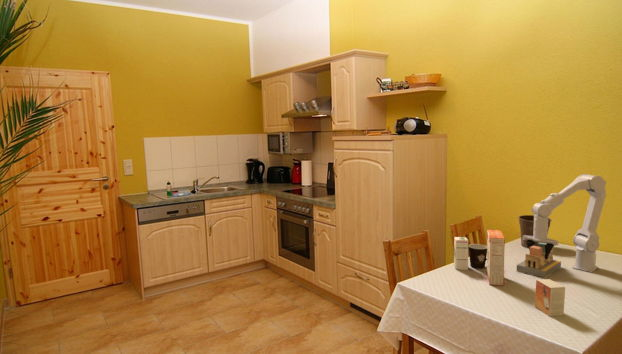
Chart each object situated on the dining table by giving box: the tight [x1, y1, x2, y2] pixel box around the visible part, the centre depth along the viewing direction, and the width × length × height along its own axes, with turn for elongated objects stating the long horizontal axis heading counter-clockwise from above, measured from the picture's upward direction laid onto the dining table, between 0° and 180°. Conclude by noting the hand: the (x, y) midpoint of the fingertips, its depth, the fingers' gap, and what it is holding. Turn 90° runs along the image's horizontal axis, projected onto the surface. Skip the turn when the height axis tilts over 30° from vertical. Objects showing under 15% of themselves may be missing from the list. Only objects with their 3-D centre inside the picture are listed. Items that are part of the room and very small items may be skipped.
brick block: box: [528, 246, 543, 257], centre depth 182 cm, size 4×4×4 cm
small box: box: [534, 278, 566, 317], centre depth 143 cm, size 8×6×10 cm
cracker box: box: [486, 229, 506, 287], centre depth 173 cm, size 14×6×21 cm, turn 160°
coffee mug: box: [468, 243, 487, 270], centre depth 190 cm, size 12×9×10 cm
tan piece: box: [524, 248, 554, 269], centre depth 185 cm, size 18×6×6 cm, turn 131°
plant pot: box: [518, 214, 552, 249], centre depth 222 cm, size 16×16×16 cm
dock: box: [516, 259, 562, 278], centre depth 186 cm, size 20×12×3 cm, turn 131°
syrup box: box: [453, 236, 469, 271], centre depth 189 cm, size 6×6×14 cm
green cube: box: [538, 242, 546, 253], centre depth 188 cm, size 4×4×4 cm
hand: (539, 257), depth 185 cm, fingers closed on tan piece, 5 cm apart
